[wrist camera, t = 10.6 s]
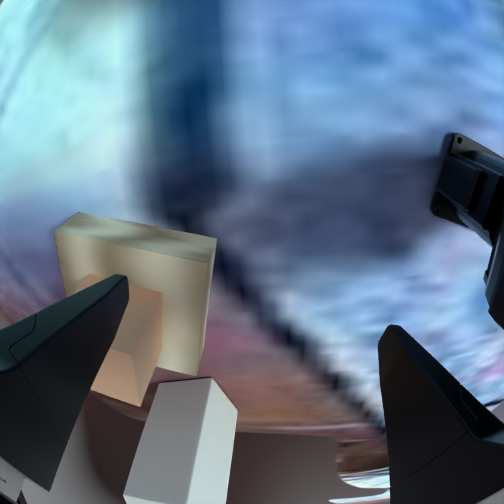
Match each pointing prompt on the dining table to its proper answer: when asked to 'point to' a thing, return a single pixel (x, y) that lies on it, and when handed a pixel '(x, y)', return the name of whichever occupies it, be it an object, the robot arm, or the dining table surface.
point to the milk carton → (184, 446)
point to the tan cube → (131, 346)
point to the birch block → (147, 274)
